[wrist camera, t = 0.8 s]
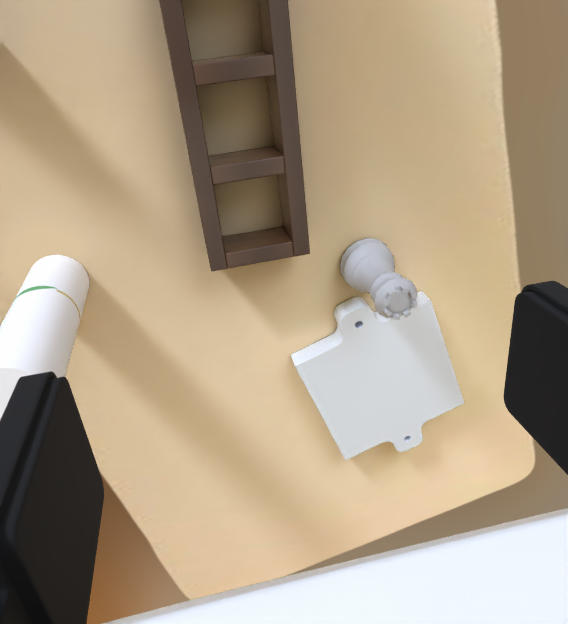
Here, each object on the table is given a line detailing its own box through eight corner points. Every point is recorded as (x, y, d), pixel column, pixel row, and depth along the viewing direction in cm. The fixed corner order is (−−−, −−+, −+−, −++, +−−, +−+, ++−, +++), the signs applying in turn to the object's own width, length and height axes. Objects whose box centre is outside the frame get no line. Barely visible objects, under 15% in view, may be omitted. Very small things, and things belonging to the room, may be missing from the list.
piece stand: (207, 253, 42) (211, 271, 39) (149, -50, 32) (148, -58, 29) (299, 237, 43) (309, 253, 40) (270, -63, 33) (281, -71, 30)
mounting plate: (460, 408, 55) (470, 420, 53) (348, 462, 55) (353, 475, 54) (413, 267, 46) (423, 276, 44) (279, 333, 46) (283, 345, 45)
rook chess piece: (330, 251, 44) (362, 293, 37) (379, 226, 44) (421, 264, 37) (348, 293, 46) (382, 341, 39) (395, 270, 46) (437, 314, 39)
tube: (98, 270, 40) (69, 385, 27) (76, 314, 42) (38, 444, 29) (41, 245, 39) (-18, 355, 26) (19, 292, 40) (-48, 420, 27)
